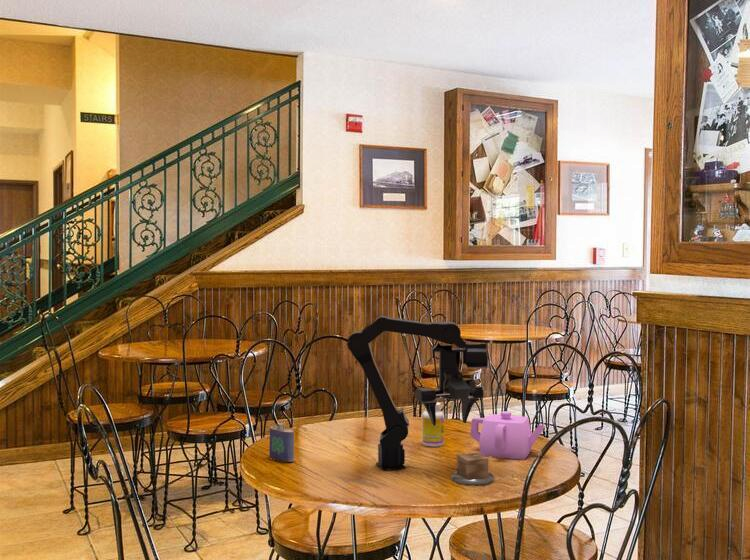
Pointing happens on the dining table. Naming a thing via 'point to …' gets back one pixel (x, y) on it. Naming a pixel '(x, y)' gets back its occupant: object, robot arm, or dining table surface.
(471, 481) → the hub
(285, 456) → the flask
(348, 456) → the dining table surface
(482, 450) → the teakettle
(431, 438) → the supplement bottle
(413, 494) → the dining table surface
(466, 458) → the drawer-style box
